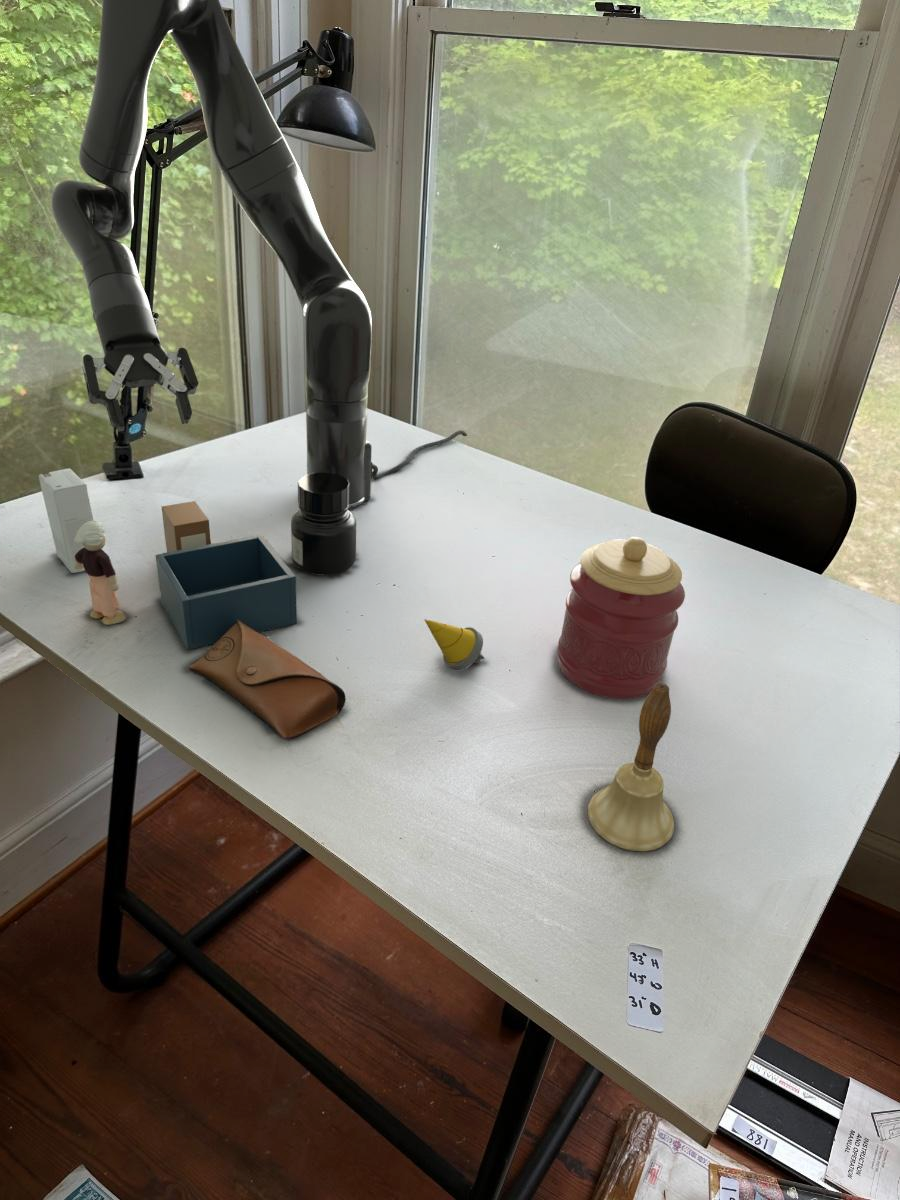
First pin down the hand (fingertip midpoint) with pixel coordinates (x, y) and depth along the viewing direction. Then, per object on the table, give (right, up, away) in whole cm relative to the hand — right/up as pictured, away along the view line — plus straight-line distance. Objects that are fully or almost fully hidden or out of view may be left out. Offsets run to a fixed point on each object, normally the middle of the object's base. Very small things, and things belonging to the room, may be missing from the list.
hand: (154, 425), depth 115 cm
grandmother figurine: (-2, -26, -11) cm, 28 cm away
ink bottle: (+22, -18, +4) cm, 29 cm away
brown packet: (+5, -19, 0) cm, 20 cm away
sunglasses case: (+19, -34, -20) cm, 44 cm away
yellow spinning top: (+41, -32, -14) cm, 54 cm away
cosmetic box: (-10, -19, -1) cm, 21 cm away
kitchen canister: (+59, -32, -12) cm, 68 cm away
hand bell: (+57, -45, -33) cm, 80 cm away
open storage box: (+12, -25, -8) cm, 29 cm away
